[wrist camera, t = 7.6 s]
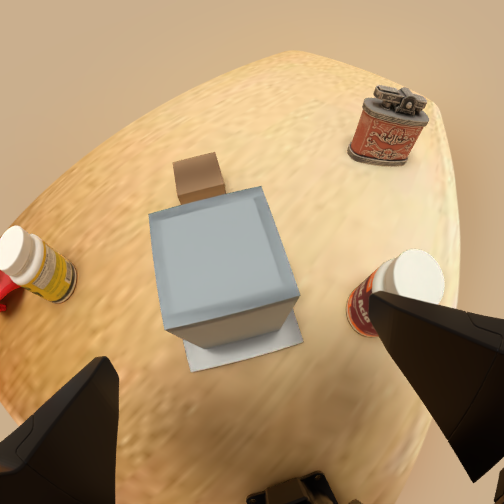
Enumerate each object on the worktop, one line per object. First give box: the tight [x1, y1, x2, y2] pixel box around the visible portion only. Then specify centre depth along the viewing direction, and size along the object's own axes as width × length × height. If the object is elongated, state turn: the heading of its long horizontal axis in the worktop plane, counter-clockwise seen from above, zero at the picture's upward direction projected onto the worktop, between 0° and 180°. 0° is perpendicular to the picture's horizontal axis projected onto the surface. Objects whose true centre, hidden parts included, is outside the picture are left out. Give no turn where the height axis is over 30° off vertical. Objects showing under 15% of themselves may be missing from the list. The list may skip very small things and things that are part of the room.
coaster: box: [183, 308, 304, 372], centre depth 22 cm, size 9×9×1 cm
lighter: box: [347, 85, 429, 166], centre depth 25 cm, size 8×3×10 cm, turn 92°
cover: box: [149, 186, 300, 349], centre depth 17 cm, size 6×6×10 cm
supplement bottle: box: [0, 226, 76, 303], centre depth 19 cm, size 5×5×8 cm
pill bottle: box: [346, 249, 445, 337], centre depth 18 cm, size 5×5×8 cm
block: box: [173, 152, 226, 205], centre depth 25 cm, size 4×4×4 cm
